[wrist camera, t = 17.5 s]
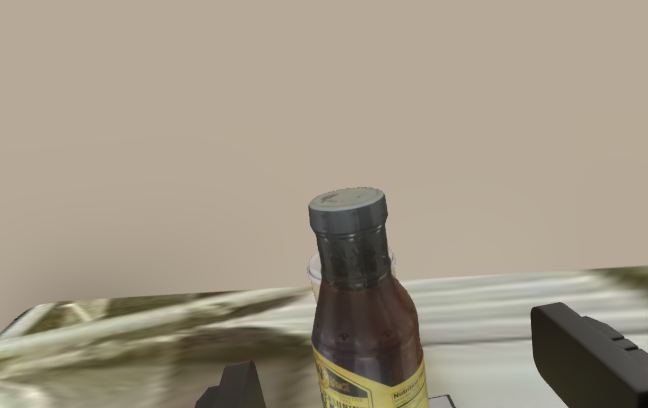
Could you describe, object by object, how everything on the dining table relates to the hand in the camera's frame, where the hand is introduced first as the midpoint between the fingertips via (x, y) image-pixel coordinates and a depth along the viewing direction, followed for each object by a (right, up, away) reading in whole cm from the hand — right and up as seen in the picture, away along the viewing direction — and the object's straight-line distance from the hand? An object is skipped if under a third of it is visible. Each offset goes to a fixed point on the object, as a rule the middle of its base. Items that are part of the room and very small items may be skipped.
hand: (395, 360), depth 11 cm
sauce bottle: (+2, -14, +14) cm, 20 cm away
